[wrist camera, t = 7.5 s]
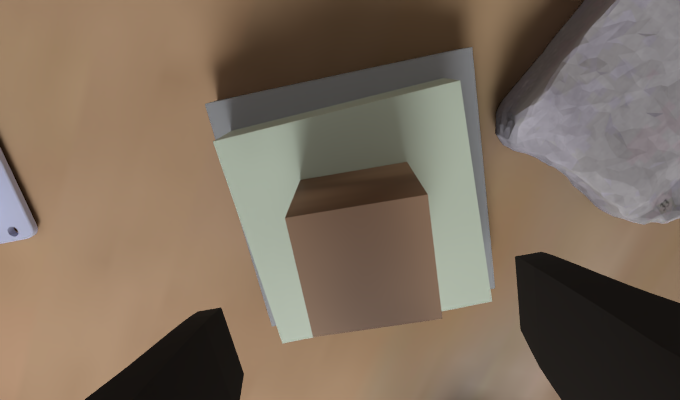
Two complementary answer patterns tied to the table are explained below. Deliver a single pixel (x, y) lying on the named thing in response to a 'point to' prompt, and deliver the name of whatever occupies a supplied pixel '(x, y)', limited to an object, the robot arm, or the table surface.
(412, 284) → the walnut cube
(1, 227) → the robot arm
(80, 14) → the table surface
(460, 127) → the green top slab
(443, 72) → the grey base slab
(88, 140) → the table surface
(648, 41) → the stone block
